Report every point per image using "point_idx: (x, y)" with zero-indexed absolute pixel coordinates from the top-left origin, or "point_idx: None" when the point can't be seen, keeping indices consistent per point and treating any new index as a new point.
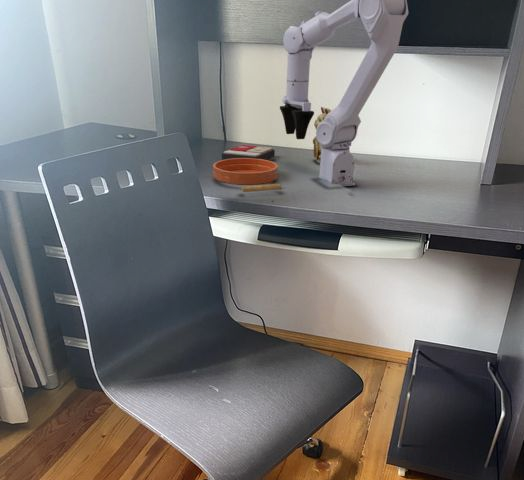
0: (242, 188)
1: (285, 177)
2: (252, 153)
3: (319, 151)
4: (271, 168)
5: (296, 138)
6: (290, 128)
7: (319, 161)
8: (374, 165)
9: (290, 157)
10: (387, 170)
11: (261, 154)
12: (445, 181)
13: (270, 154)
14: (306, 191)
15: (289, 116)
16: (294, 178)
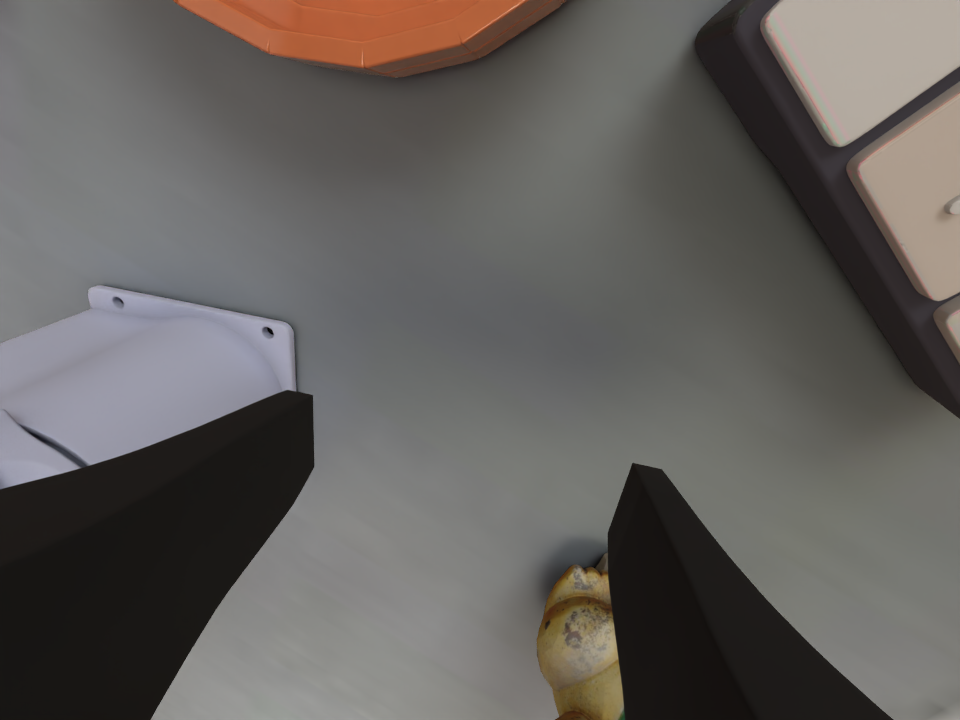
0: None
1: (388, 179)
2: (891, 27)
3: (606, 609)
4: (360, 30)
5: (308, 395)
6: (632, 549)
7: (606, 561)
8: (460, 700)
9: (893, 522)
10: (363, 681)
11: (832, 163)
12: (173, 701)
13: (908, 339)
14: (38, 125)
15: (680, 715)
16: (345, 226)
